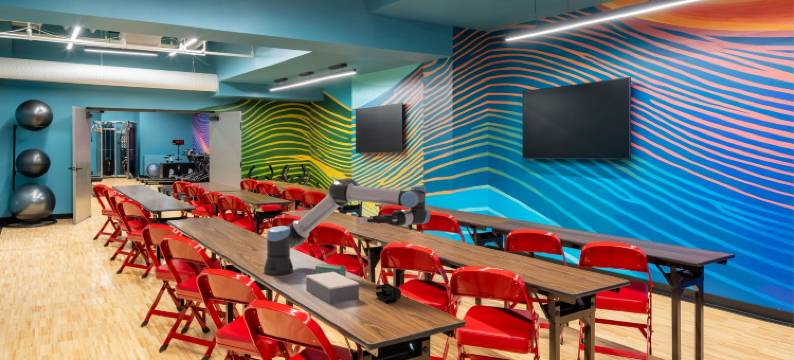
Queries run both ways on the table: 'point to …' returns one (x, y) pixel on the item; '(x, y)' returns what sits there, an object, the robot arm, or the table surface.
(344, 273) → the box
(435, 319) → the table surface
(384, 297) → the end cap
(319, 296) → the grey tray
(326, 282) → the cover
